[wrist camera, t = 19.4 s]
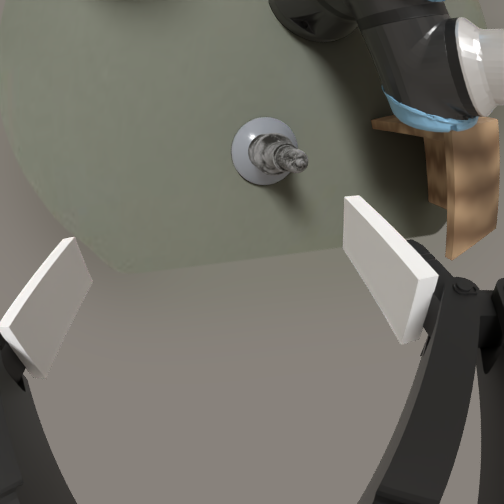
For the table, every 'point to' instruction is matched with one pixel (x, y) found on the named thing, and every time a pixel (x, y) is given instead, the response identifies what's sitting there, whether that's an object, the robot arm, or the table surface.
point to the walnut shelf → (460, 177)
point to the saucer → (243, 141)
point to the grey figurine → (276, 154)
